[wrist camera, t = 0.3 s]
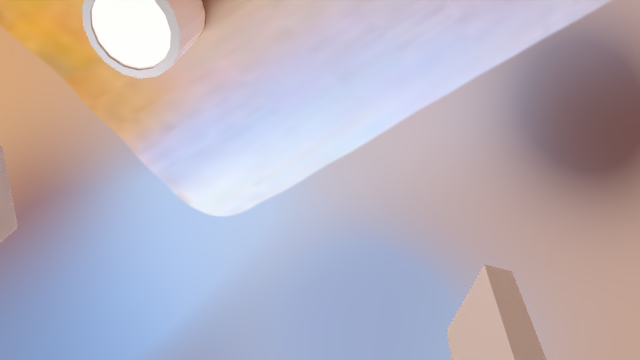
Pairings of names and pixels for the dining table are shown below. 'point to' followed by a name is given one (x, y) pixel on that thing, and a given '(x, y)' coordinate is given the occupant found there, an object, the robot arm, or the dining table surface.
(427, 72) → the dining table surface
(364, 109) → the dining table surface
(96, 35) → the beige cup
